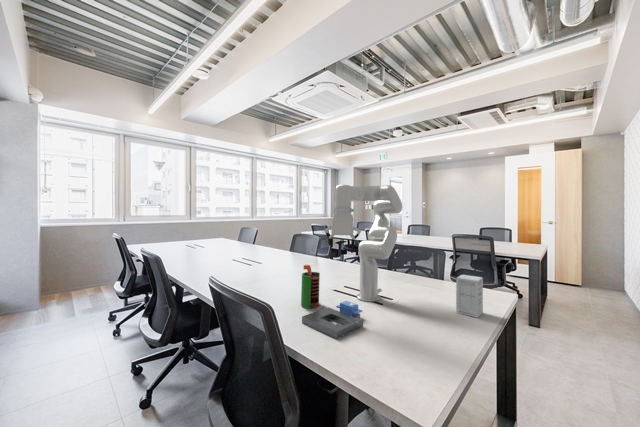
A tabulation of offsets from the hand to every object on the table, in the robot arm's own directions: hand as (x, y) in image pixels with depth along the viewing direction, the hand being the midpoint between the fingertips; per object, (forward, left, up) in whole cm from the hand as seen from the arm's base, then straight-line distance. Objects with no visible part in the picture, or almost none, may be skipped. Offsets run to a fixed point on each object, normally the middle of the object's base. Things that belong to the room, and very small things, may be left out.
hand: (341, 247), depth 130 cm
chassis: (+14, +8, -30) cm, 34 cm away
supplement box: (-44, +42, -30) cm, 68 cm away
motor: (+5, -16, -30) cm, 35 cm away
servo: (+1, +6, -30) cm, 31 cm away
